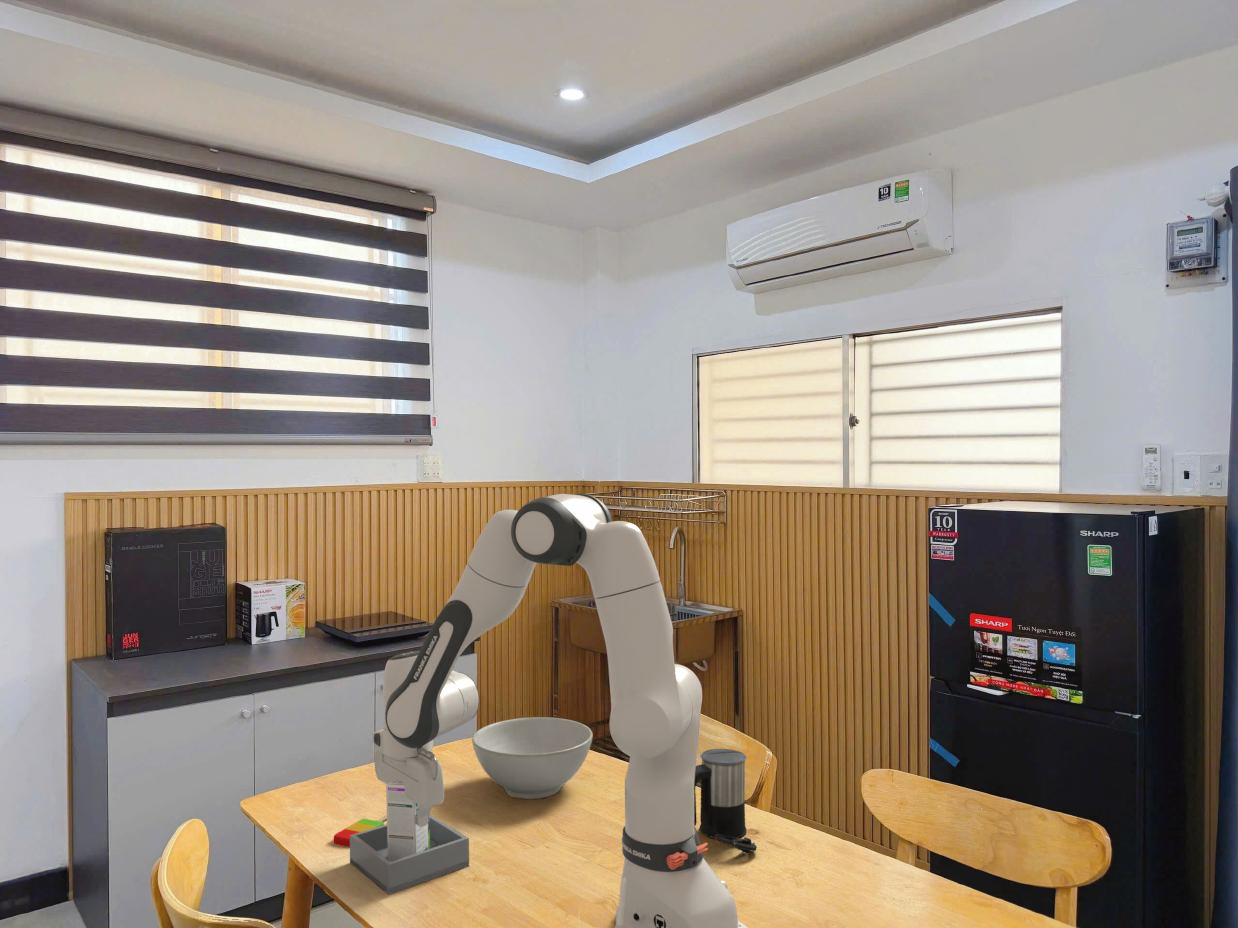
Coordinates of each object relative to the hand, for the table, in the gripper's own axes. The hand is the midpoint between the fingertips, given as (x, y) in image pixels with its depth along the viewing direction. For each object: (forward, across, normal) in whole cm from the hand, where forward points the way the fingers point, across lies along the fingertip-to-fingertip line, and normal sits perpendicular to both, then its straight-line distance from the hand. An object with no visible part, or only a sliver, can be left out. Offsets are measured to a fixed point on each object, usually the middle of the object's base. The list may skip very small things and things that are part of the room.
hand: (409, 816), depth 156 cm
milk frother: (+9, -32, -51) cm, 61 cm away
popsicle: (+9, +19, -1) cm, 21 cm away
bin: (+9, 0, 0) cm, 9 cm away
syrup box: (+8, 0, 0) cm, 8 cm away
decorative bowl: (+9, +15, -38) cm, 42 cm away
